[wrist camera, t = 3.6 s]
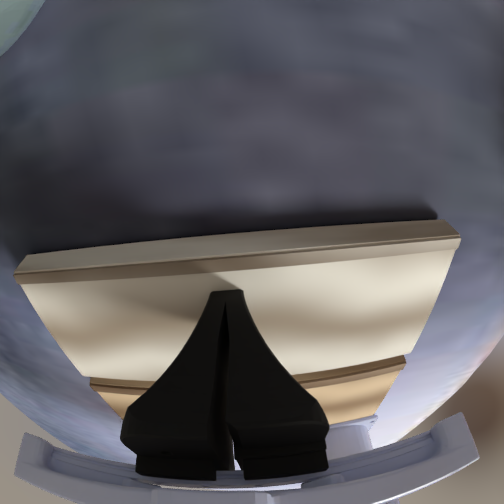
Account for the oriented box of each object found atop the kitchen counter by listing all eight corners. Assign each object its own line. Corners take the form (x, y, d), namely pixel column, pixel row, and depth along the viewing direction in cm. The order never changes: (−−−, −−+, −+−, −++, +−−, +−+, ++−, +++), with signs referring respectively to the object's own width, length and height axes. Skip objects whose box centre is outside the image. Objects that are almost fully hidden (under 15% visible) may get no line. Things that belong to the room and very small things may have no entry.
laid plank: (369, 402, 23) (373, 416, 22) (136, 418, 23) (134, 433, 21) (398, 344, 18) (406, 362, 17) (94, 366, 18) (88, 384, 16)
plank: (402, 336, 17) (411, 354, 16) (88, 358, 17) (82, 377, 16) (444, 219, 12) (461, 236, 11) (26, 255, 12) (12, 273, 11)
